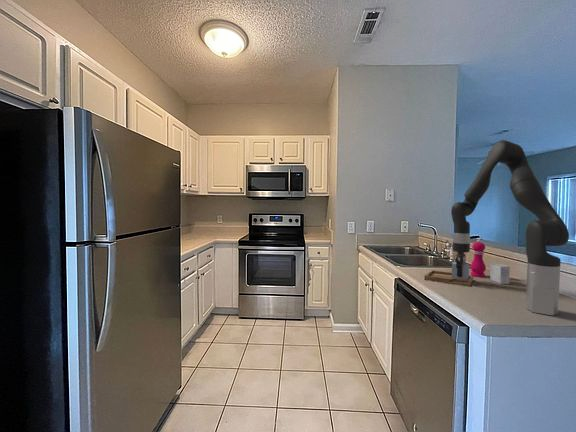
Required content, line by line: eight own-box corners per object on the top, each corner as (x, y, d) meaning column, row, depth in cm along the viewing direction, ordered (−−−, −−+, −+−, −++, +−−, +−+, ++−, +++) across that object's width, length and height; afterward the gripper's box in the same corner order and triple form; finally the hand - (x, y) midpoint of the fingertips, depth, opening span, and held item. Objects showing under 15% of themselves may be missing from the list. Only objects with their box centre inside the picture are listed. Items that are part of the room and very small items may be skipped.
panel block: (467, 281, 149) (468, 265, 148) (451, 279, 153) (452, 263, 152) (468, 279, 152) (469, 263, 152) (452, 277, 156) (453, 261, 156)
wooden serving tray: (469, 286, 143) (469, 281, 143) (424, 279, 155) (424, 275, 155) (473, 279, 156) (473, 275, 156) (431, 274, 168) (431, 270, 168)
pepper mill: (470, 273, 169) (471, 238, 168) (485, 275, 165) (487, 239, 164) (469, 276, 164) (470, 239, 163) (485, 278, 159) (486, 240, 158)
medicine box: (509, 284, 148) (510, 266, 148) (500, 284, 148) (501, 266, 148) (498, 280, 156) (499, 263, 155) (489, 280, 156) (490, 263, 156)
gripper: (468, 244, 144) (467, 279, 144) (471, 241, 155) (470, 274, 156) (450, 242, 148) (449, 277, 149) (455, 240, 160) (454, 272, 160)
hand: (460, 275), depth 152 cm, fingers closed on panel block, 4 cm apart
